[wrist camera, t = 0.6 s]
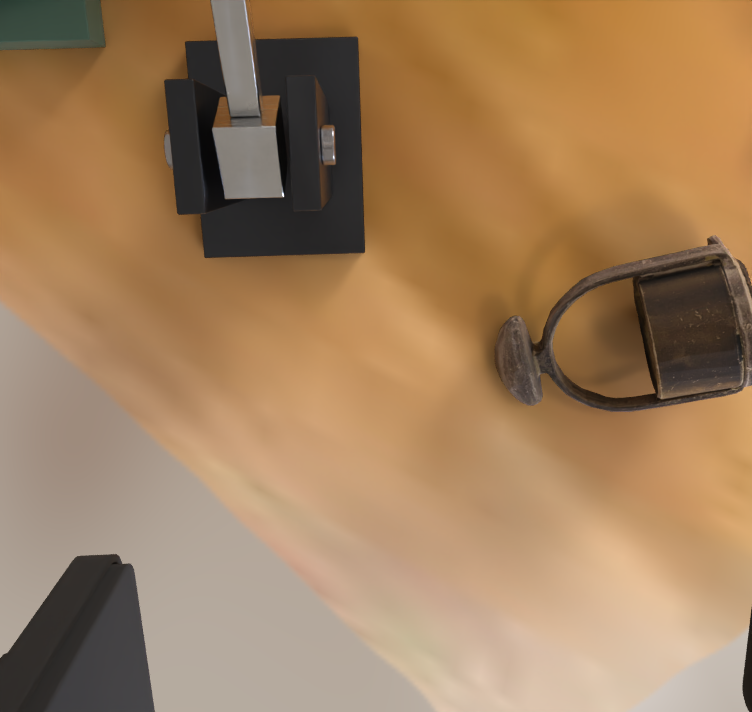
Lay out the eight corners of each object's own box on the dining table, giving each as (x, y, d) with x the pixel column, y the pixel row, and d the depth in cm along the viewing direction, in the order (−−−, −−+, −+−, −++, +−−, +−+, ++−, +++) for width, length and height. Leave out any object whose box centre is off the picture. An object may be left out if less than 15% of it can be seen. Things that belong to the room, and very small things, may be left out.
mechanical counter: (771, 469, 35) (851, 276, 30) (515, 468, 33) (559, 263, 29) (697, 393, 41) (754, 224, 37) (479, 388, 40) (511, 210, 35)
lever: (110, -229, 19) (88, -216, 18) (296, -233, 20) (291, -220, 18) (194, 166, 28) (185, 201, 26) (324, 162, 28) (323, 196, 26)
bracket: (190, 45, 34) (107, -13, 23) (358, 40, 34) (357, -20, 23) (209, 255, 37) (142, 296, 26) (364, 250, 37) (367, 289, 26)
